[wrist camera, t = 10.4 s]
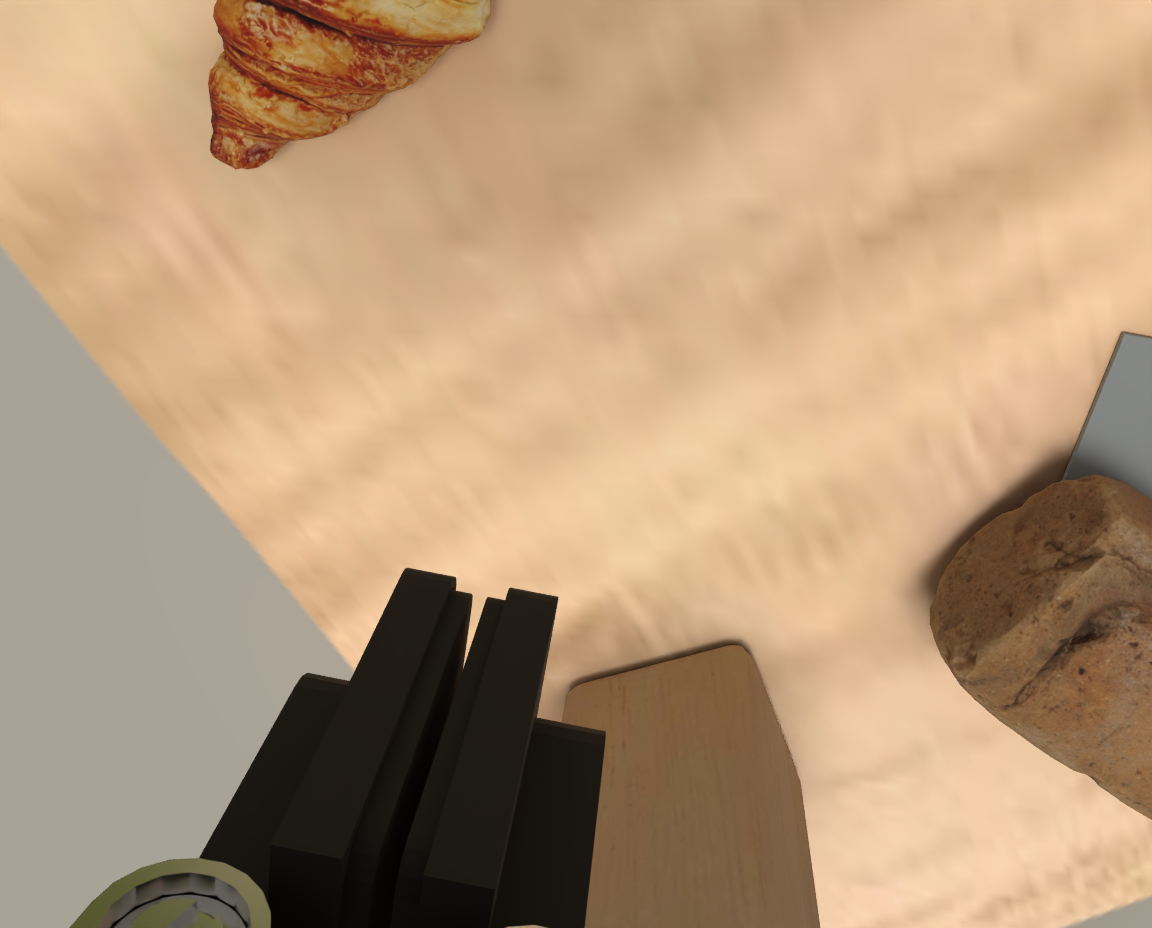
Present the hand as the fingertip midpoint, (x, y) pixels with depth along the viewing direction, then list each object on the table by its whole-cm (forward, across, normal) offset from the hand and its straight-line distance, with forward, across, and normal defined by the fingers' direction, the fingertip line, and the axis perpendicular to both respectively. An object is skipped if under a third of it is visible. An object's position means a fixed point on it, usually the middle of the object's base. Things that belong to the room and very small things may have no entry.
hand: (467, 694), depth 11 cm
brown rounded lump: (+31, -18, +12) cm, 38 cm away
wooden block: (+35, -8, +28) cm, 46 cm away
